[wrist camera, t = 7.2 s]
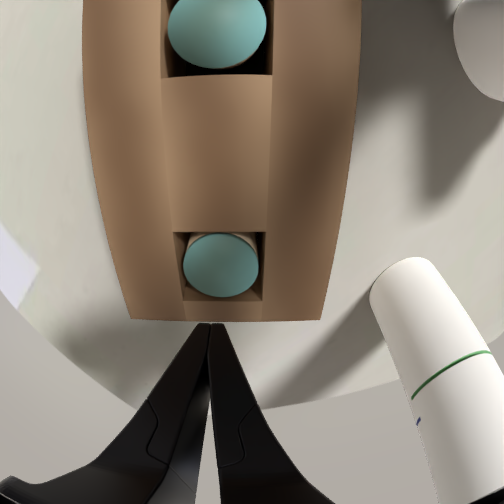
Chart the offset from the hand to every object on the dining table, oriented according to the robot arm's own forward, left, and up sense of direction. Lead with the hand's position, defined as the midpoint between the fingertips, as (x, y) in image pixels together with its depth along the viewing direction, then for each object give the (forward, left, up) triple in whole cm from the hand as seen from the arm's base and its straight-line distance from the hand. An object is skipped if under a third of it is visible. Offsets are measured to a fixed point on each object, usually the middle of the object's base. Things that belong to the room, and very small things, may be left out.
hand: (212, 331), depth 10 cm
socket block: (0, -4, -12) cm, 13 cm away
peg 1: (0, -10, -12) cm, 16 cm away
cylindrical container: (-16, +9, -13) cm, 22 cm away
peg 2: (0, +2, -12) cm, 12 cm away
